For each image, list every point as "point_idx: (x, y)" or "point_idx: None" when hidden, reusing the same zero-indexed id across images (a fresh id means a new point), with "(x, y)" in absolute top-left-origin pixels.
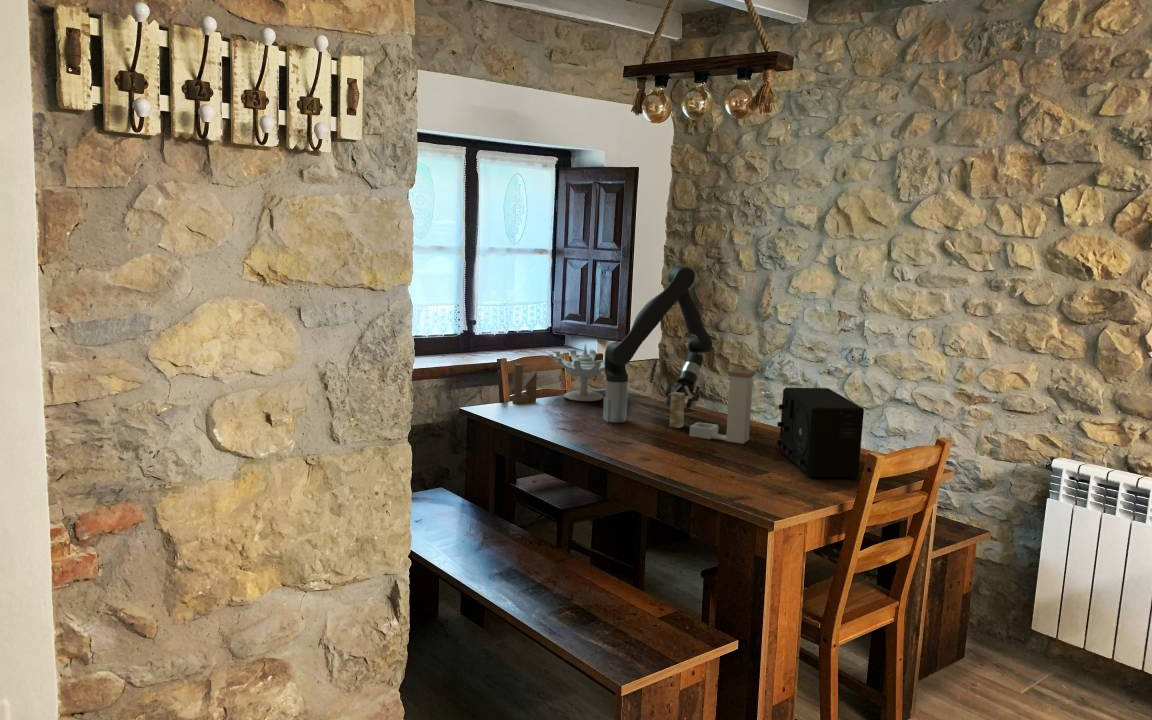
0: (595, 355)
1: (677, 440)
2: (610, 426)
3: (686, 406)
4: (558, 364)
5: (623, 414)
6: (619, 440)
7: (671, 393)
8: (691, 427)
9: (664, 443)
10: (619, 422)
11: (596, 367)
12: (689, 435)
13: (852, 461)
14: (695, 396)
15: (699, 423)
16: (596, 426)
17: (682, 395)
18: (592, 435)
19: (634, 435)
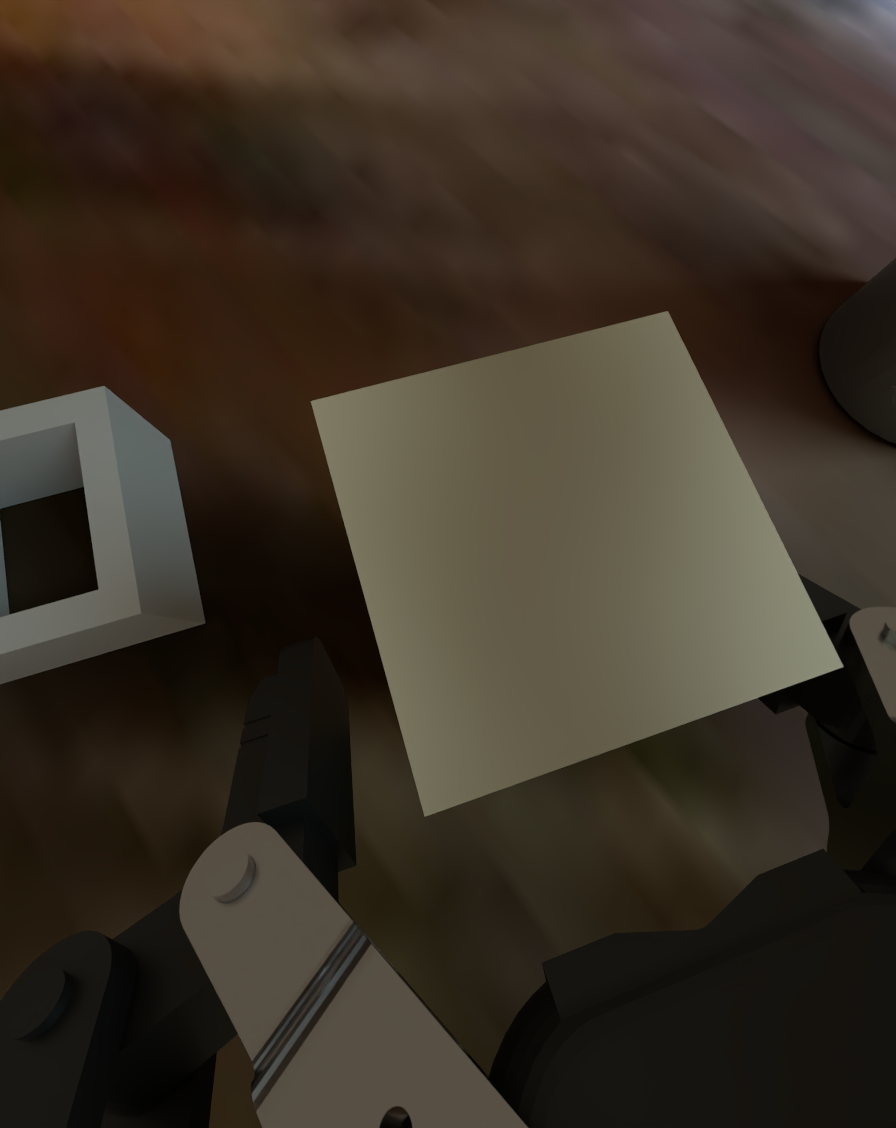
0: None
1: (166, 273)
2: (759, 221)
3: (312, 642)
4: None
5: (888, 313)
6: (440, 33)
7: (675, 333)
8: (94, 397)
9: (190, 158)
10: (822, 334)
11: None
12: (167, 439)
13: None
14: (24, 1008)
15: (102, 589)
16: (805, 159)
17: (355, 547)
18: (626, 10)
19: (469, 167)
